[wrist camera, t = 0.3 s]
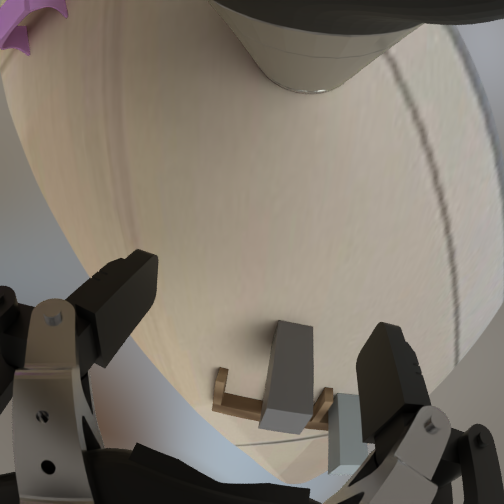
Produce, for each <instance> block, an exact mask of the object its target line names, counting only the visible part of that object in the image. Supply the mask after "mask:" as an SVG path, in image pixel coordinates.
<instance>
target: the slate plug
mask: <svg viewBox="0 0 504 504" xmlns="http://www.w3.org/2000/svg"><path fill="white" fill-rule="evenodd" d="M328 427H329V449H328V475H353V474H354V473H355V472H356V470H357V469H358V468H359V467H360V466H361V464H362V463H363V462H364V460H365V459H366V458H367V457H368V448H367V443H362V427H361V413H360V401H359V395H352V394H342V393H337V395H336V396H335V398H334V399H333V404H332V405H331V406H330V408H329V409H328Z"/></svg>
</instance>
